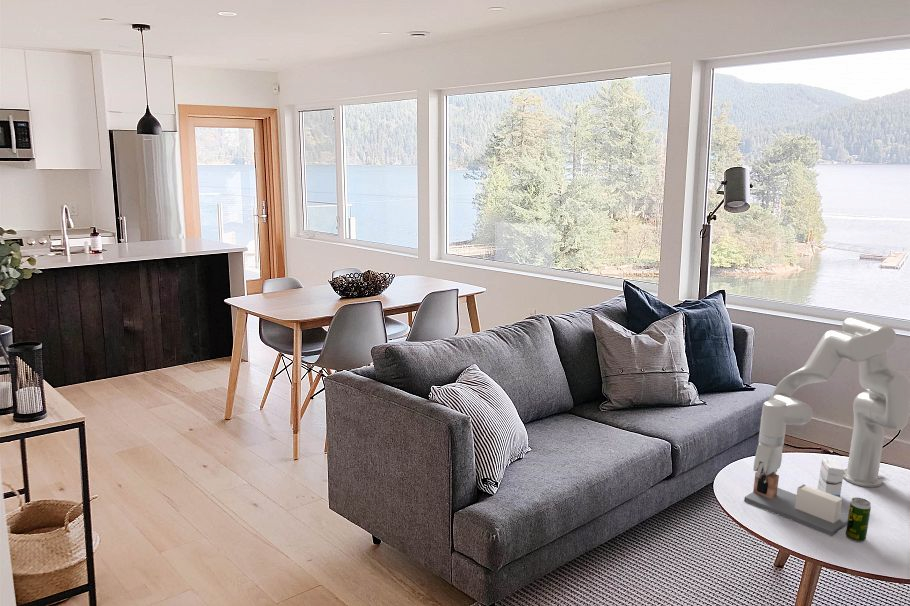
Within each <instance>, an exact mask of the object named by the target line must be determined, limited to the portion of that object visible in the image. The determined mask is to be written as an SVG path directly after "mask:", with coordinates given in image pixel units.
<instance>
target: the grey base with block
mask: <svg viewBox="0 0 910 606" xmlns="http://www.w3.org/2000/svg"><path fill="white" fill-rule="evenodd" d="M743 501H744V503H745V502H746V503H748V504H750V505H752V504H753V506H756V507H758V508H760V507H761V509H762V508H763V509H762V510H764V511H767V510H768V512H770V513H772V512H773V514H775V515H777V514H778V516H780V517H782V518H785V519H787V520H790V521H792V522H795V523H798V524H800V525H803V526H806V527H808V528H810V529H813V530H814V531H817V532H820V533H822V534H825V535H828V536H830V537H833V536H835V535H836V534H837V533H839V532H840V531H842V530H843V529H844V528H845V527H847V521H848V514H849V513H848V512H847V513H846V512H844V511H842V504H843V497H841V496H840V497H837V496H834V495H832V494H829V493H826V492H823V491H821V490H818V488H815V487H812V486H809V485H806V484H802V485H800V486H798V487H797V490H796V493H793V492H790V491H788V490H785V489H782V488H779V487H778V488H777V495H776V496H774V497H773V498H771V499H770V498H767V497H765V496H762V495H760V494H757V493H754V492H753V491H752V492H750V493H749V494H747V495H746V496H744V500H743Z"/></svg>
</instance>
